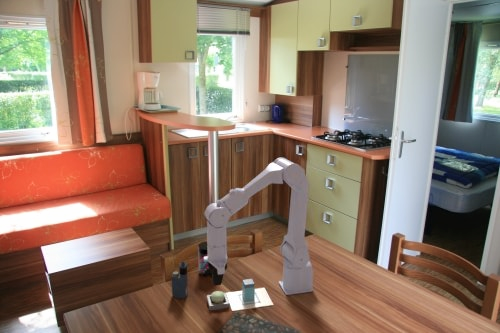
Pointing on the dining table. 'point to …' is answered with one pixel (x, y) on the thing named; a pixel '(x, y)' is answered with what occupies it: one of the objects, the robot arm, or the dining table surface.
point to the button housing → (218, 306)
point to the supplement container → (203, 265)
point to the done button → (217, 297)
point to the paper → (260, 301)
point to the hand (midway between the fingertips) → (217, 284)
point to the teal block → (248, 290)
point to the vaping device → (180, 282)
